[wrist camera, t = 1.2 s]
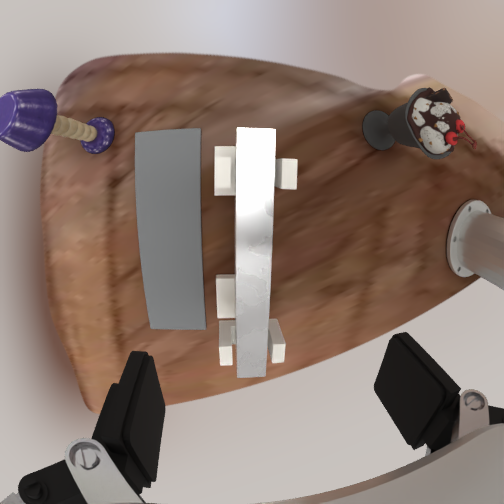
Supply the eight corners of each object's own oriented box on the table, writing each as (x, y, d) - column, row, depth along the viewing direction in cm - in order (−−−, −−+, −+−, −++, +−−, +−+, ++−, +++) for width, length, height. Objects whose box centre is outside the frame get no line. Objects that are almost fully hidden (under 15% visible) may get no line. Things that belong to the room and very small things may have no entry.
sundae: (380, 168, 29) (473, 180, 15) (345, 125, 28) (432, 104, 13) (409, 136, 28) (501, 134, 14) (378, 94, 27) (465, 66, 12)
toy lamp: (94, 108, 24) (-3, 75, 8) (126, 120, 25) (35, 85, 9) (77, 146, 25) (-28, 145, 9) (107, 160, 26) (6, 164, 10)
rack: (272, 148, 28) (303, 137, 17) (267, 311, 33) (286, 374, 22) (215, 147, 27) (209, 134, 16) (217, 313, 33) (217, 378, 22)
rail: (269, 133, 19) (275, 129, 17) (261, 359, 25) (265, 376, 23) (235, 132, 19) (237, 127, 17) (235, 360, 25) (237, 377, 23)
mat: (201, 129, 26) (200, 128, 26) (206, 326, 33) (206, 329, 33) (137, 133, 26) (135, 132, 25) (151, 326, 32) (150, 328, 32)
